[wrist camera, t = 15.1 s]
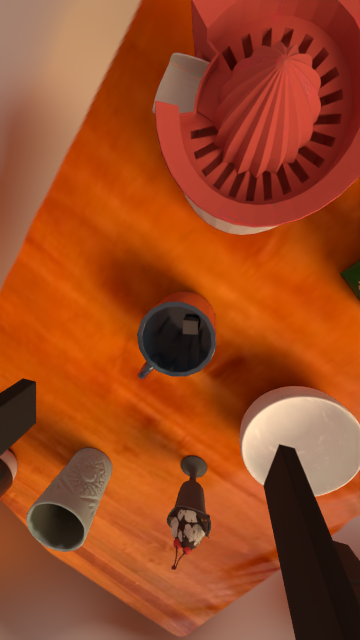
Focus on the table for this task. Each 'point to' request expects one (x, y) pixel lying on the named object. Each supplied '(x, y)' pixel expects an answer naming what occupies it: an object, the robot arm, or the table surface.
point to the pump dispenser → (7, 471)
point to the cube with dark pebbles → (191, 325)
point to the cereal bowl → (302, 436)
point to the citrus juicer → (263, 110)
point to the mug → (177, 336)
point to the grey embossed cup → (70, 501)
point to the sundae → (189, 509)
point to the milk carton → (353, 277)
